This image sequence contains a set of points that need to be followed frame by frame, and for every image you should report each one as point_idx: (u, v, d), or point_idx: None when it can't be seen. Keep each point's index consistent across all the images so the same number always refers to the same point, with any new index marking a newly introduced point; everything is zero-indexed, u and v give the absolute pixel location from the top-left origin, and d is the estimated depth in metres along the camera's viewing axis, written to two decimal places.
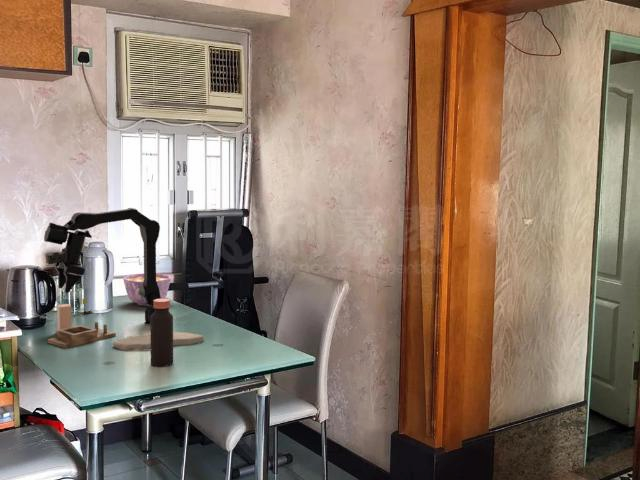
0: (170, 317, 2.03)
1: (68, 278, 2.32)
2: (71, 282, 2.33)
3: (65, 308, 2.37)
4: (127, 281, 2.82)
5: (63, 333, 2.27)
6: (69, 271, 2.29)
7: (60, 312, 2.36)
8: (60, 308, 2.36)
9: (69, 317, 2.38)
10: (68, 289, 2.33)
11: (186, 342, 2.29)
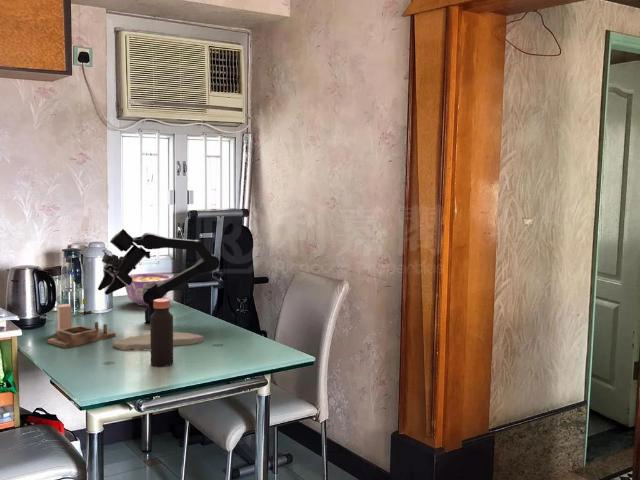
0: (170, 317, 2.03)
1: (114, 282, 2.43)
2: (114, 287, 2.44)
3: (65, 308, 2.37)
4: None
5: (63, 333, 2.27)
6: (120, 276, 2.41)
7: (60, 312, 2.36)
8: (60, 308, 2.36)
9: (69, 317, 2.38)
10: (108, 292, 2.43)
11: (186, 343, 2.29)
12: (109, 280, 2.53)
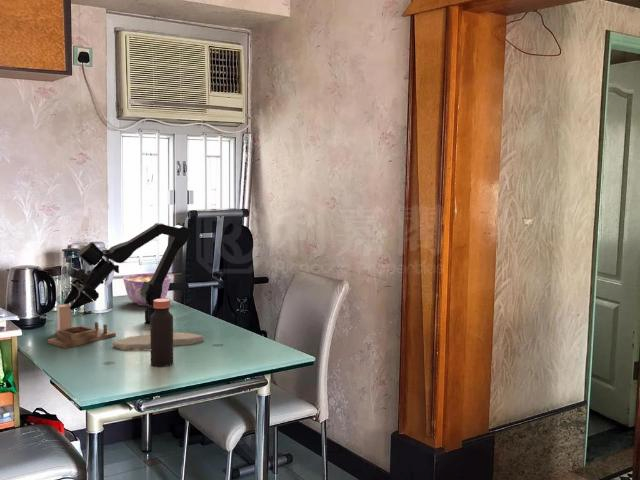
0: (170, 317, 2.03)
1: (80, 297, 2.35)
2: (80, 302, 2.36)
3: (65, 308, 2.37)
4: (127, 281, 2.82)
5: (63, 333, 2.27)
6: (85, 290, 2.33)
7: (60, 312, 2.36)
8: (60, 308, 2.36)
9: (69, 317, 2.38)
10: (73, 307, 2.36)
11: (186, 343, 2.28)
12: (76, 294, 2.45)
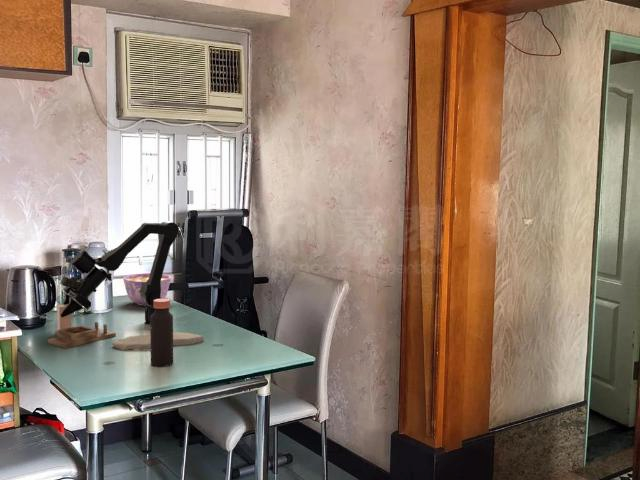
0: (170, 317, 2.03)
1: (70, 304, 2.36)
2: (71, 309, 2.37)
3: None
4: (127, 281, 2.82)
5: (63, 333, 2.27)
6: (77, 299, 2.32)
7: (60, 312, 2.36)
8: (60, 308, 2.36)
9: (69, 317, 2.38)
10: (64, 314, 2.37)
11: (186, 343, 2.28)
12: None
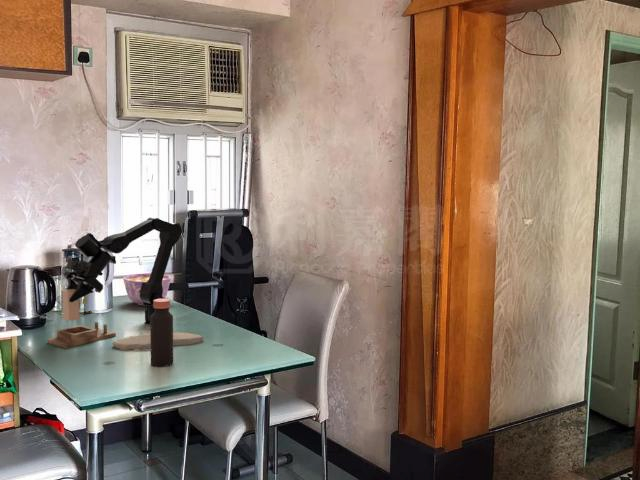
0: (170, 317, 2.03)
1: (80, 288, 2.30)
2: (80, 294, 2.30)
3: None
4: (127, 281, 2.82)
5: (63, 333, 2.27)
6: (91, 282, 2.26)
7: (68, 297, 2.29)
8: (68, 293, 2.29)
9: (77, 302, 2.31)
10: (73, 299, 2.29)
11: (186, 343, 2.28)
12: None
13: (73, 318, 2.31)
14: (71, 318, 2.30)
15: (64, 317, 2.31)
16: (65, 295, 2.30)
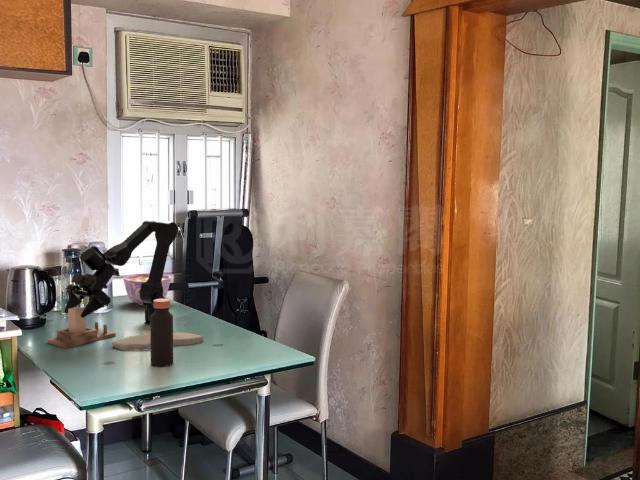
0: (170, 317, 2.03)
1: (91, 303, 2.26)
2: (91, 308, 2.27)
3: (80, 311, 2.28)
4: (127, 281, 2.82)
5: (63, 333, 2.27)
6: (100, 296, 2.25)
7: (76, 315, 2.27)
8: (76, 311, 2.27)
9: (84, 320, 2.29)
10: (84, 314, 2.26)
11: (186, 343, 2.28)
12: (75, 302, 2.34)
13: None
14: None
15: None
16: (72, 313, 2.27)
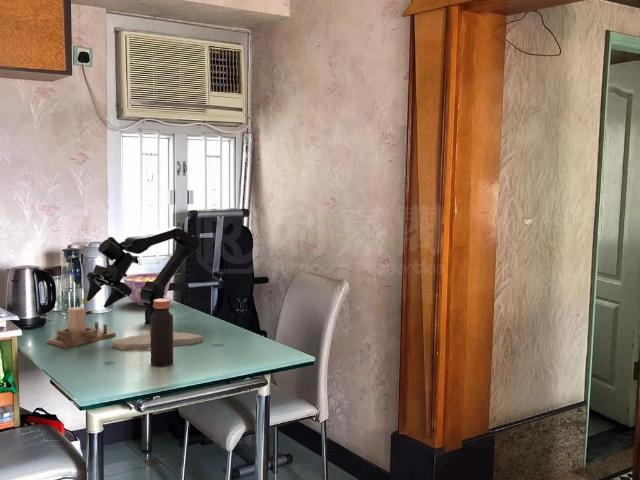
0: (170, 317, 2.03)
1: (113, 294, 2.36)
2: (113, 299, 2.37)
3: (80, 311, 2.28)
4: (127, 281, 2.82)
5: (63, 333, 2.27)
6: (122, 289, 2.35)
7: (76, 315, 2.27)
8: (76, 311, 2.27)
9: (84, 320, 2.29)
10: (107, 305, 2.36)
11: (185, 343, 2.28)
12: (96, 289, 2.43)
13: None
14: None
15: None
16: (72, 313, 2.27)
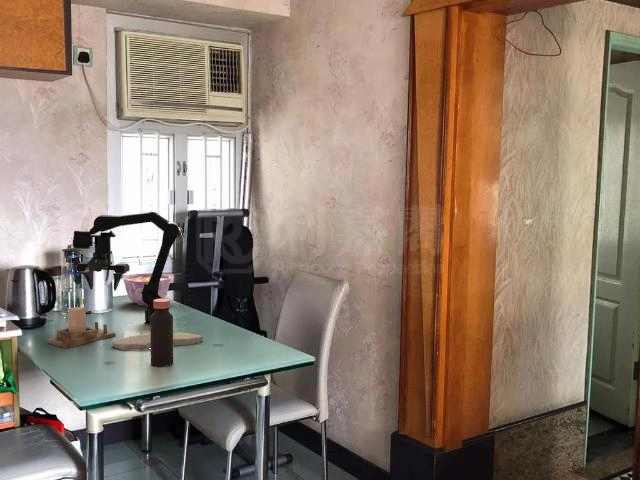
0: (170, 317, 2.03)
1: None
2: (118, 280, 2.52)
3: (80, 311, 2.28)
4: (127, 281, 2.82)
5: (63, 333, 2.27)
6: (124, 271, 2.48)
7: (76, 315, 2.27)
8: (76, 311, 2.27)
9: (84, 320, 2.29)
10: (116, 287, 2.52)
11: (185, 343, 2.28)
12: (91, 275, 2.53)
13: None
14: None
15: None
16: (72, 313, 2.27)
